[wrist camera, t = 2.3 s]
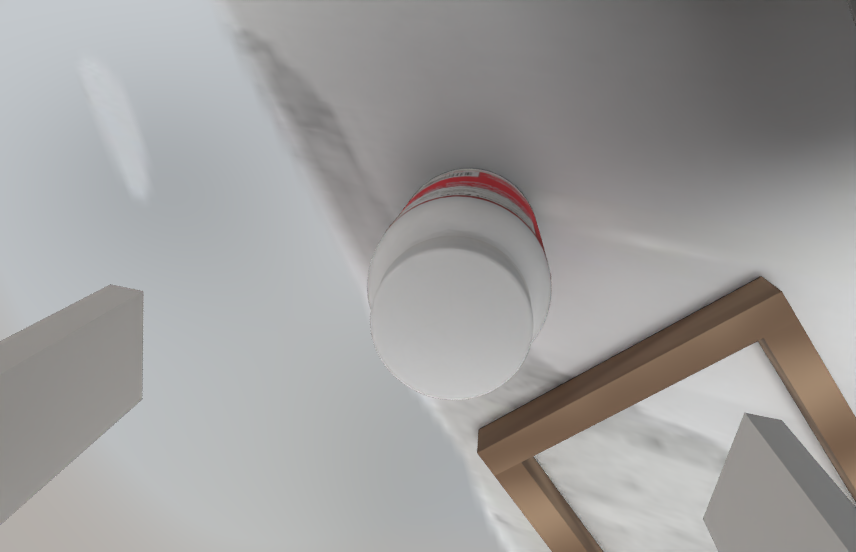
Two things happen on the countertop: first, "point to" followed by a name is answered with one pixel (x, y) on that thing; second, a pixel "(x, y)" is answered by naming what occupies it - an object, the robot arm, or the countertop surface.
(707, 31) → the countertop surface
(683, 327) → the brown wooden square frame
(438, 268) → the pill bottle
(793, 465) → the robot arm
